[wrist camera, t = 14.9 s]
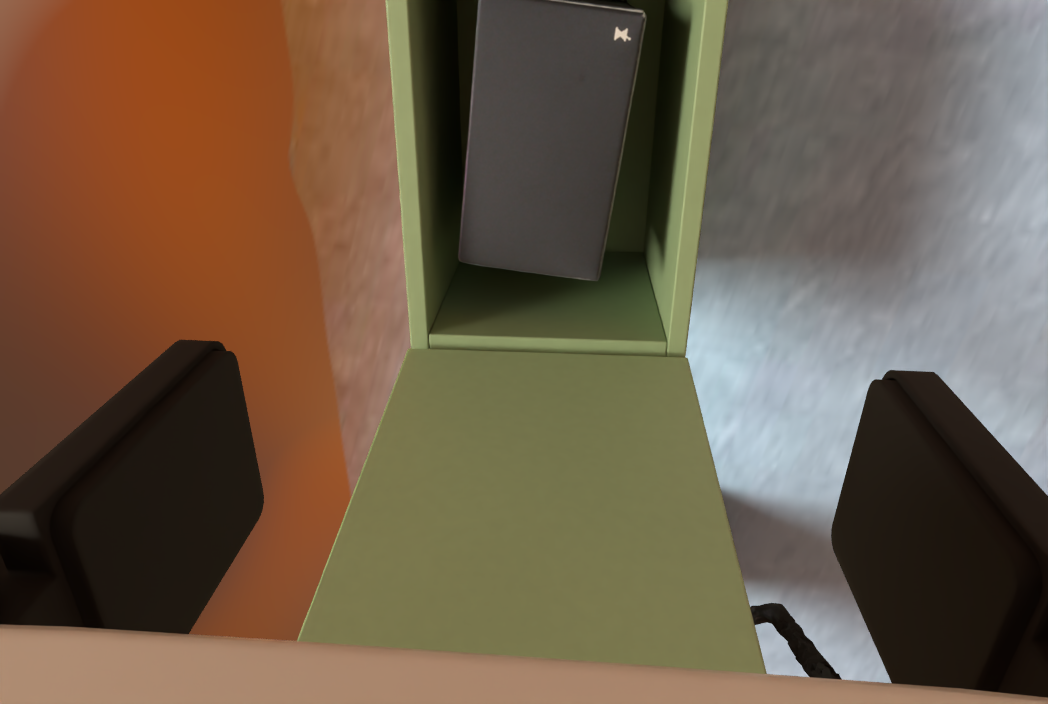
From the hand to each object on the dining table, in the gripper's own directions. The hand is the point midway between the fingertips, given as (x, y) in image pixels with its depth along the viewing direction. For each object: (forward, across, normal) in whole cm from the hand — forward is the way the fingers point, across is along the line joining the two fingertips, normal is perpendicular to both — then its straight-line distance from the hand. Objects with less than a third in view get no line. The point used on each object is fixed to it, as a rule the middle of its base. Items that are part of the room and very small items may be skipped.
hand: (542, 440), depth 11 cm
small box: (+30, +1, -1) cm, 30 cm away
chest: (+30, +1, 0) cm, 30 cm away
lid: (+9, 0, +8) cm, 12 cm away
